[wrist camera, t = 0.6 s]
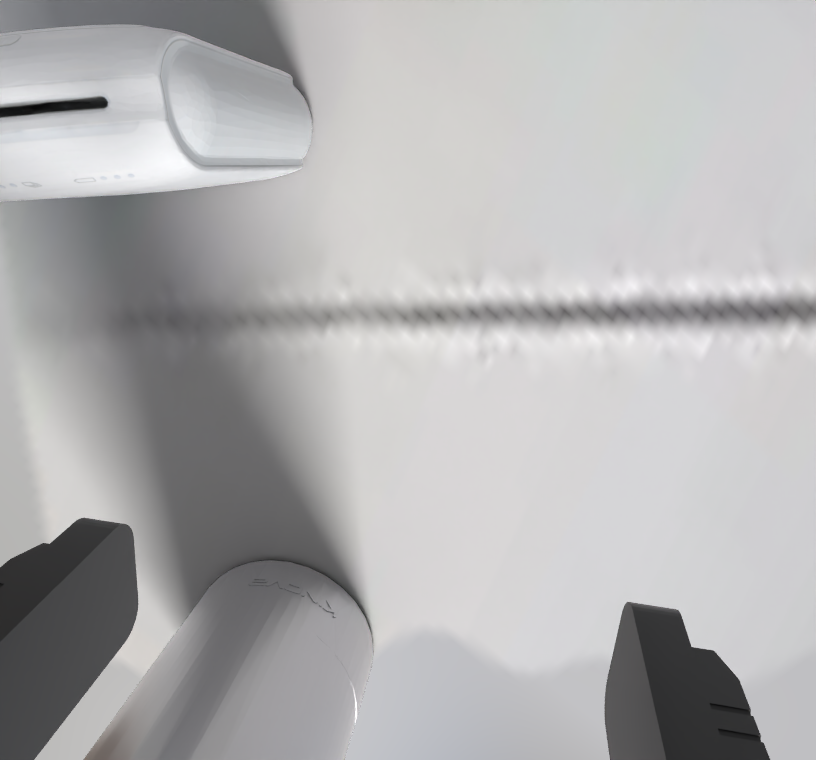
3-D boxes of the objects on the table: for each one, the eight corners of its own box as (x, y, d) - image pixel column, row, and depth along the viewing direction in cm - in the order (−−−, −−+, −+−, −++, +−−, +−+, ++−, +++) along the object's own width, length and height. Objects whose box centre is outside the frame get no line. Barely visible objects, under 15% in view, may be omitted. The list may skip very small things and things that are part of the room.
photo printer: (90, 198, 30) (-181, 218, 18) (68, 91, 29) (-236, 40, 17) (321, 179, 28) (184, 188, 17) (308, 65, 27) (152, -12, 16)
